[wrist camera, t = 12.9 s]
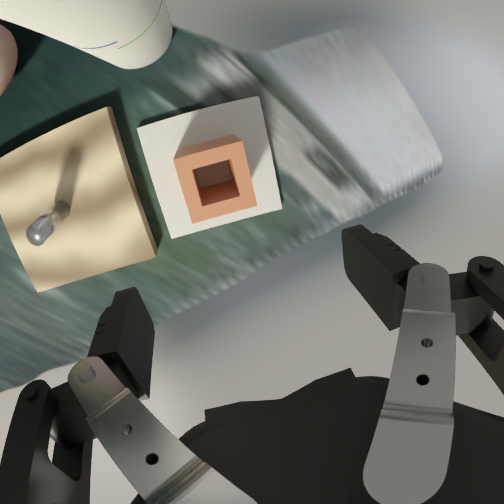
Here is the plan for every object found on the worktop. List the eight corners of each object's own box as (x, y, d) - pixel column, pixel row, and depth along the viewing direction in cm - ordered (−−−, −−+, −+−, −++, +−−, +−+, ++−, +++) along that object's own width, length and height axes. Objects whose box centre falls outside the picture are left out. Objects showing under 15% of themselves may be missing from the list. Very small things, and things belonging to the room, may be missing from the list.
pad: (138, 127, 28) (136, 128, 27) (257, 95, 29) (258, 95, 28) (172, 235, 34) (171, 238, 33) (280, 206, 34) (282, 208, 34)
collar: (176, 149, 29) (173, 159, 24) (233, 134, 29) (242, 140, 24) (192, 202, 32) (192, 223, 26) (246, 187, 32) (257, 205, 27)
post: (50, 204, 28) (22, 228, 22) (65, 198, 28) (39, 221, 22) (57, 221, 29) (31, 248, 23) (72, 215, 29) (48, 242, 23)
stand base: (-7, 163, 26) (-17, 167, 24) (111, 106, 27) (106, 106, 25) (43, 283, 33) (37, 292, 31) (157, 249, 34) (156, 257, 32)
